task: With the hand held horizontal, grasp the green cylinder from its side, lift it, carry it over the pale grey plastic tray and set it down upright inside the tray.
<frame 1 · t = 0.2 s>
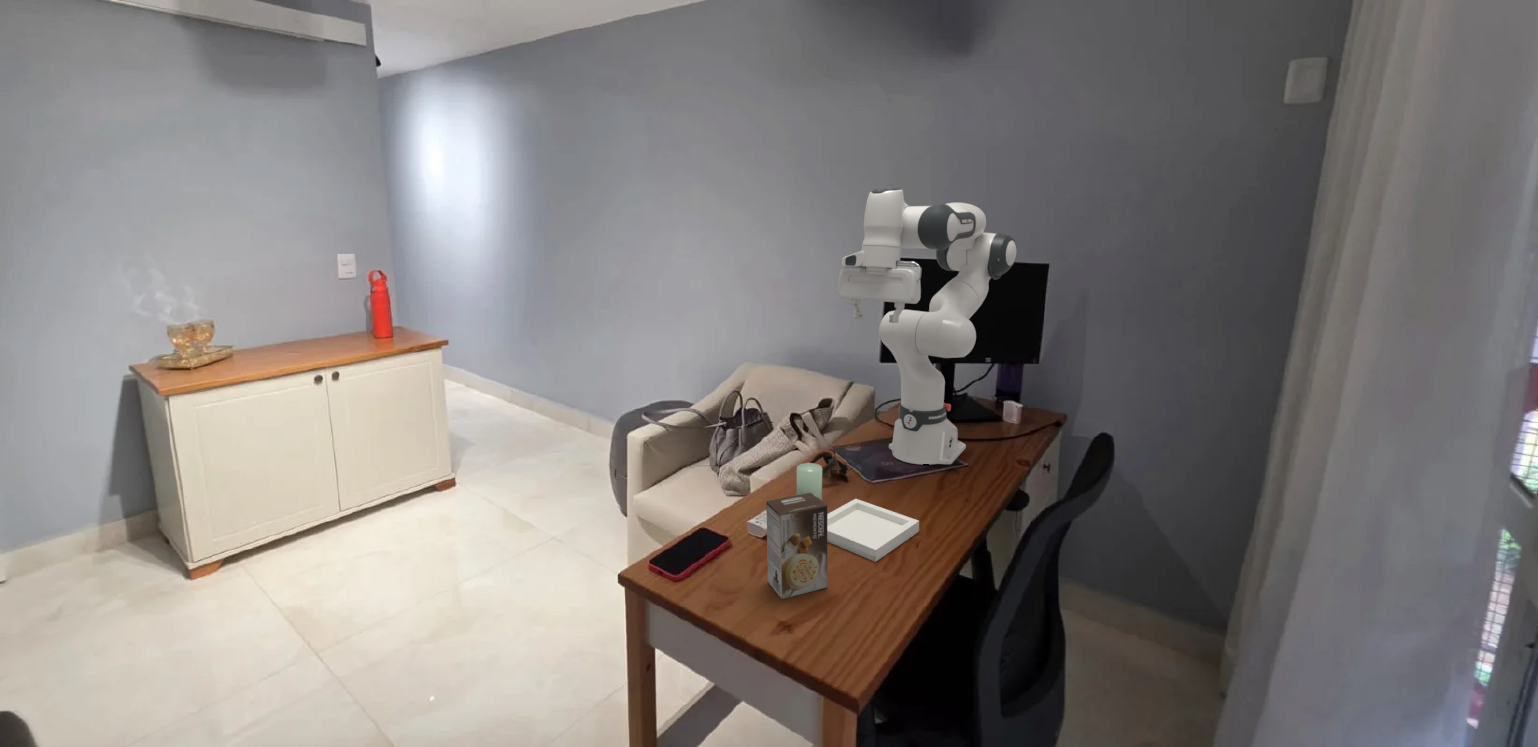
hand: (875, 321, 153), 40 cm above the table, tool pointing down, fingers open, 8 cm apart
green cylinder: (809, 514, 146), on the table
pottery mug: (829, 478, 165), on the table
coffee box: (796, 586, 119), on the table
tray: (864, 533, 137), on the table
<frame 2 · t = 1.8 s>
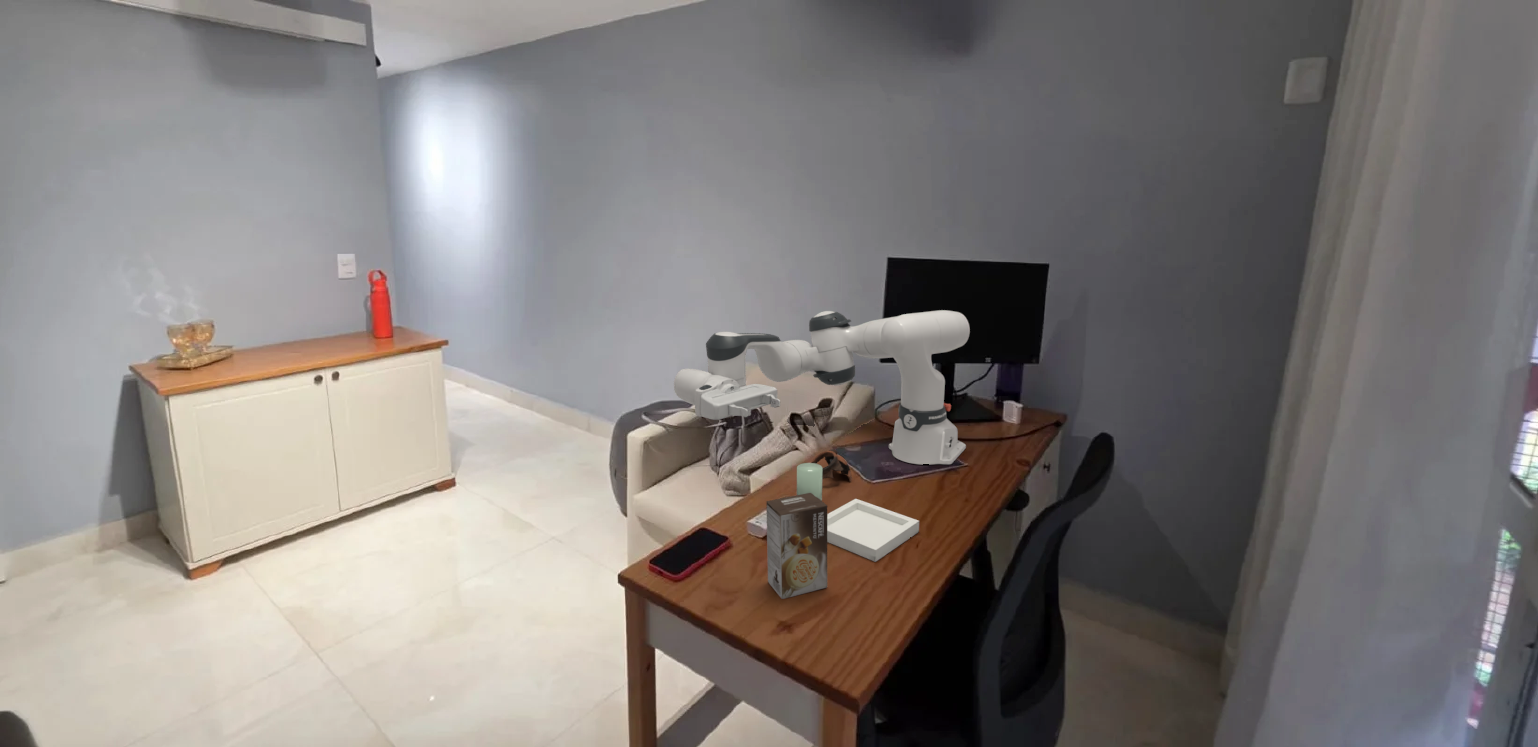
hand: (763, 408, 150), 21 cm above the table, tool horizontal, fingers open, 8 cm apart
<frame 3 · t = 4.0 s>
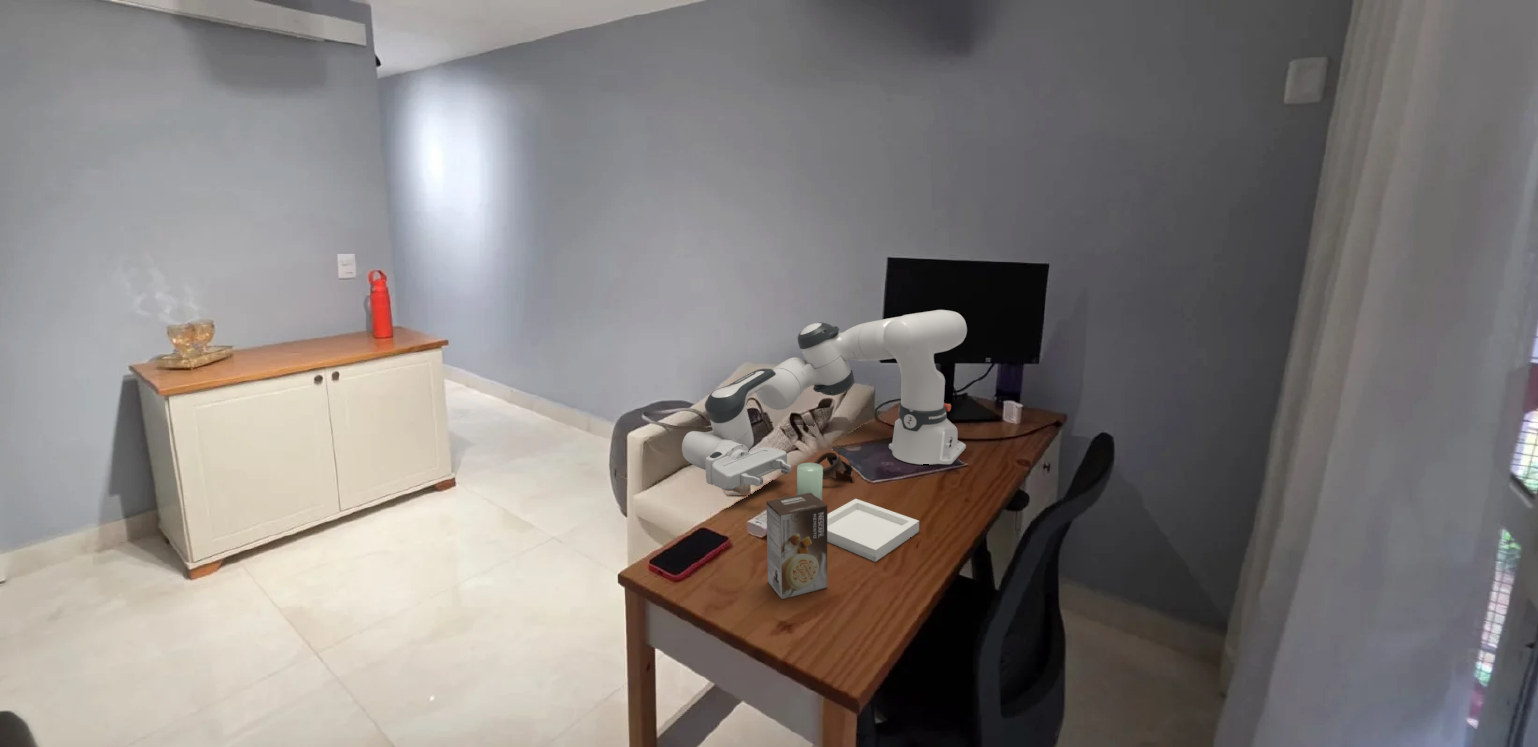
hand: (775, 476, 151), 6 cm above the table, tool horizontal, fingers open, 8 cm apart
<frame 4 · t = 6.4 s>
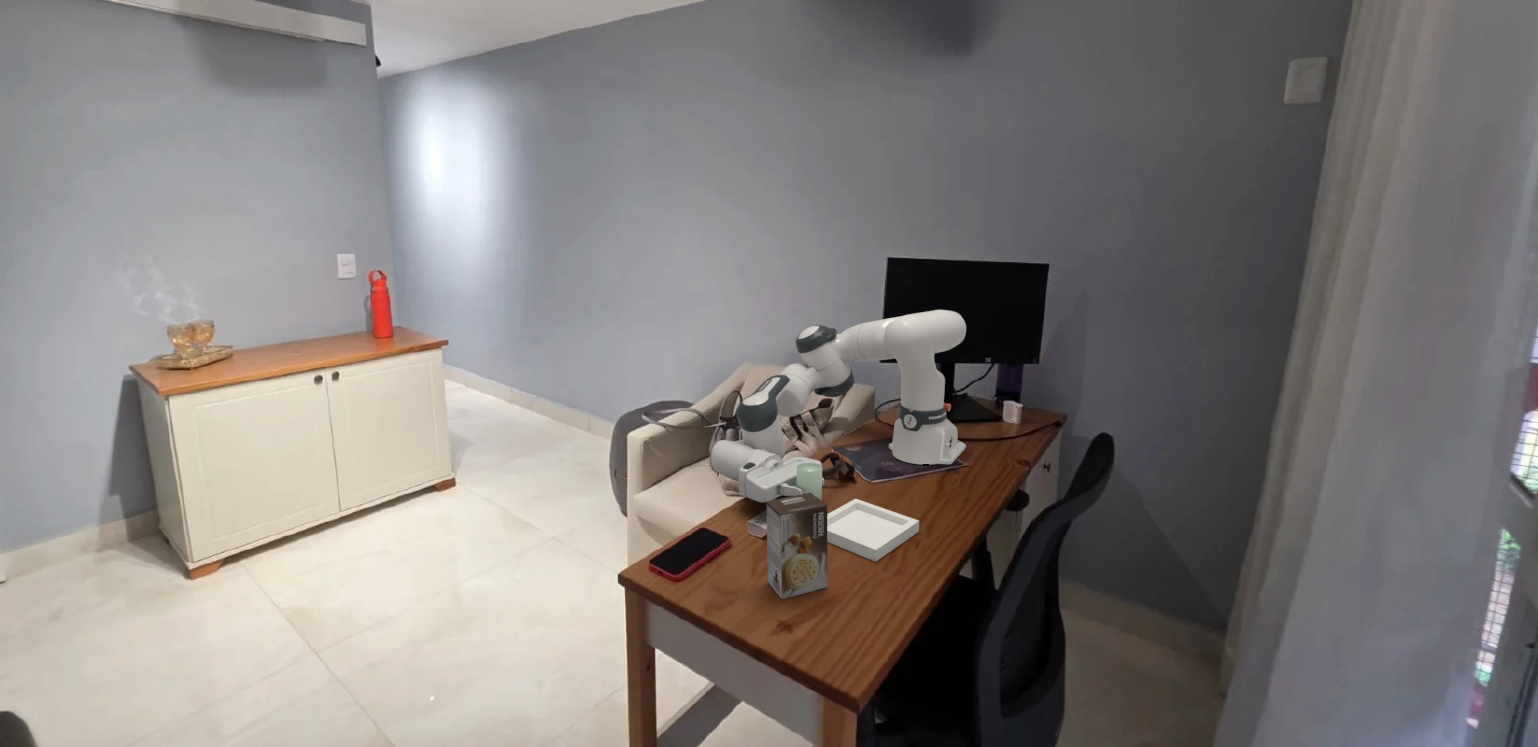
hand: (812, 487, 144), 7 cm above the table, tool horizontal, fingers closed on green cylinder, 5 cm apart
green cylinder: (809, 514, 146), on the table, touching gripper
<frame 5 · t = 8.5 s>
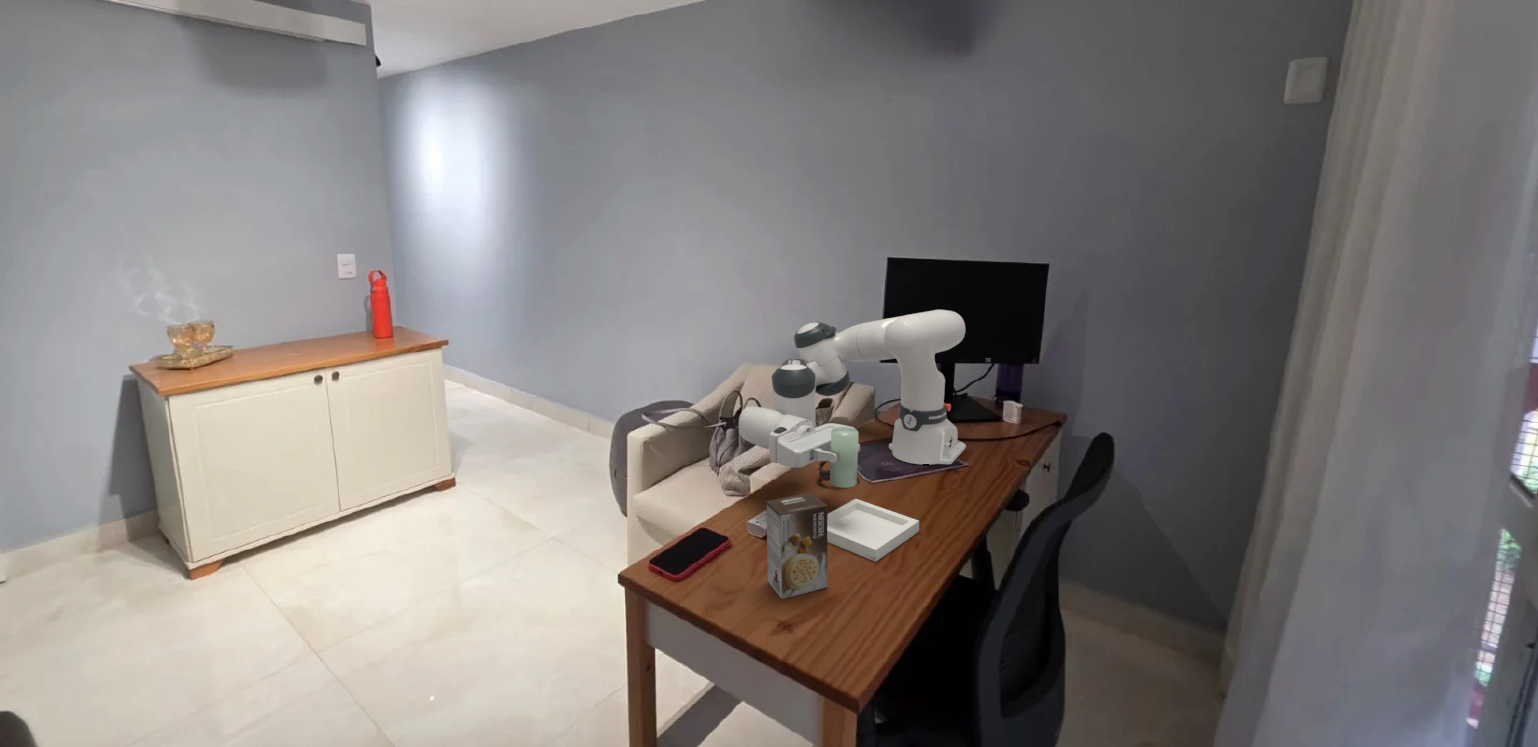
hand: (847, 453, 135), 17 cm above the table, tool horizontal, fingers closed on green cylinder, 5 cm apart
green cylinder: (843, 482, 137), point 10 cm above the table, touching gripper
when the fingers open (9 cm above the table, at t = 10.8 s): green cylinder drops 1 cm, resting on tray.
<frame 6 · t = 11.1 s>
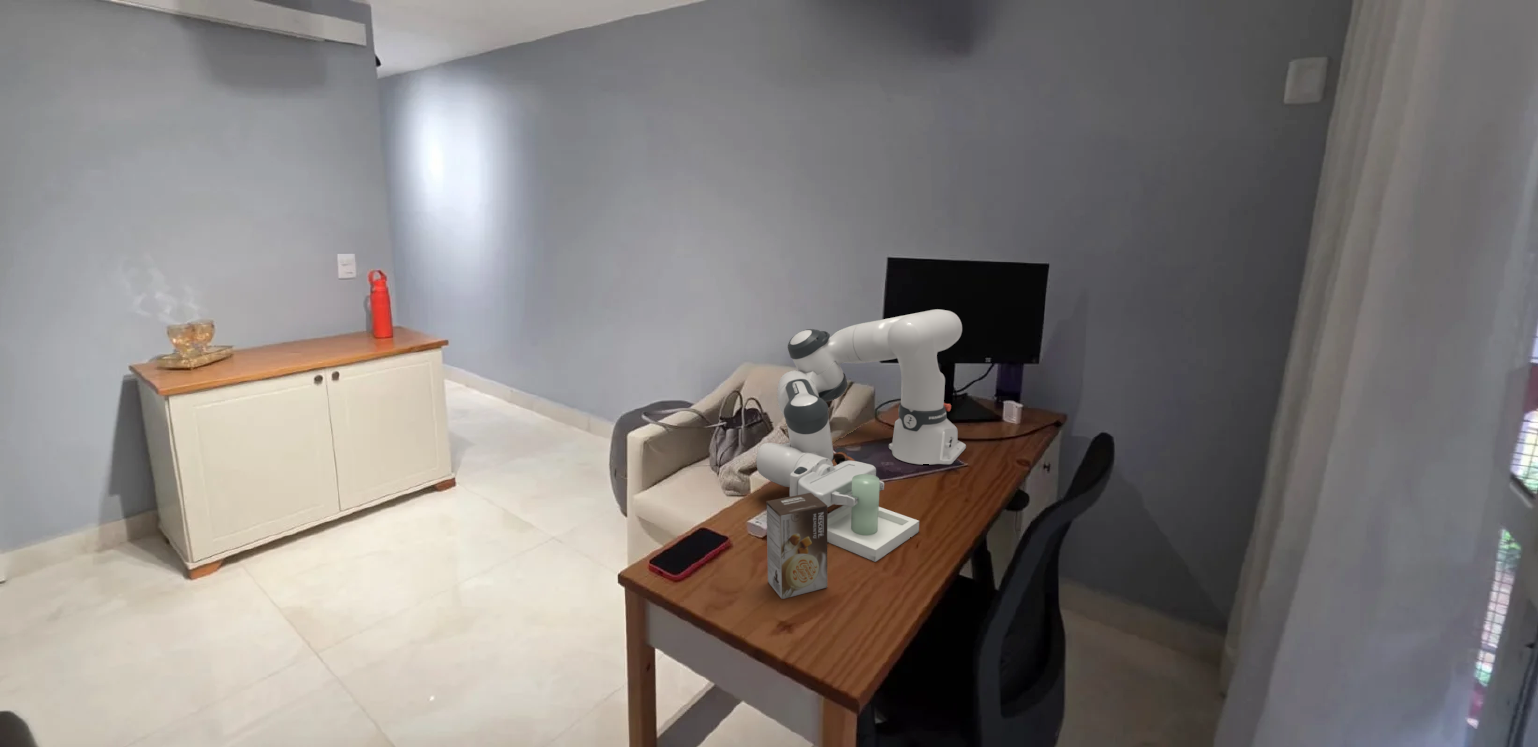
hand: (869, 494, 135), 9 cm above the table, tool horizontal, fingers open, 8 cm apart
green cylinder: (864, 528, 137), point 1 cm above the table, touching tray
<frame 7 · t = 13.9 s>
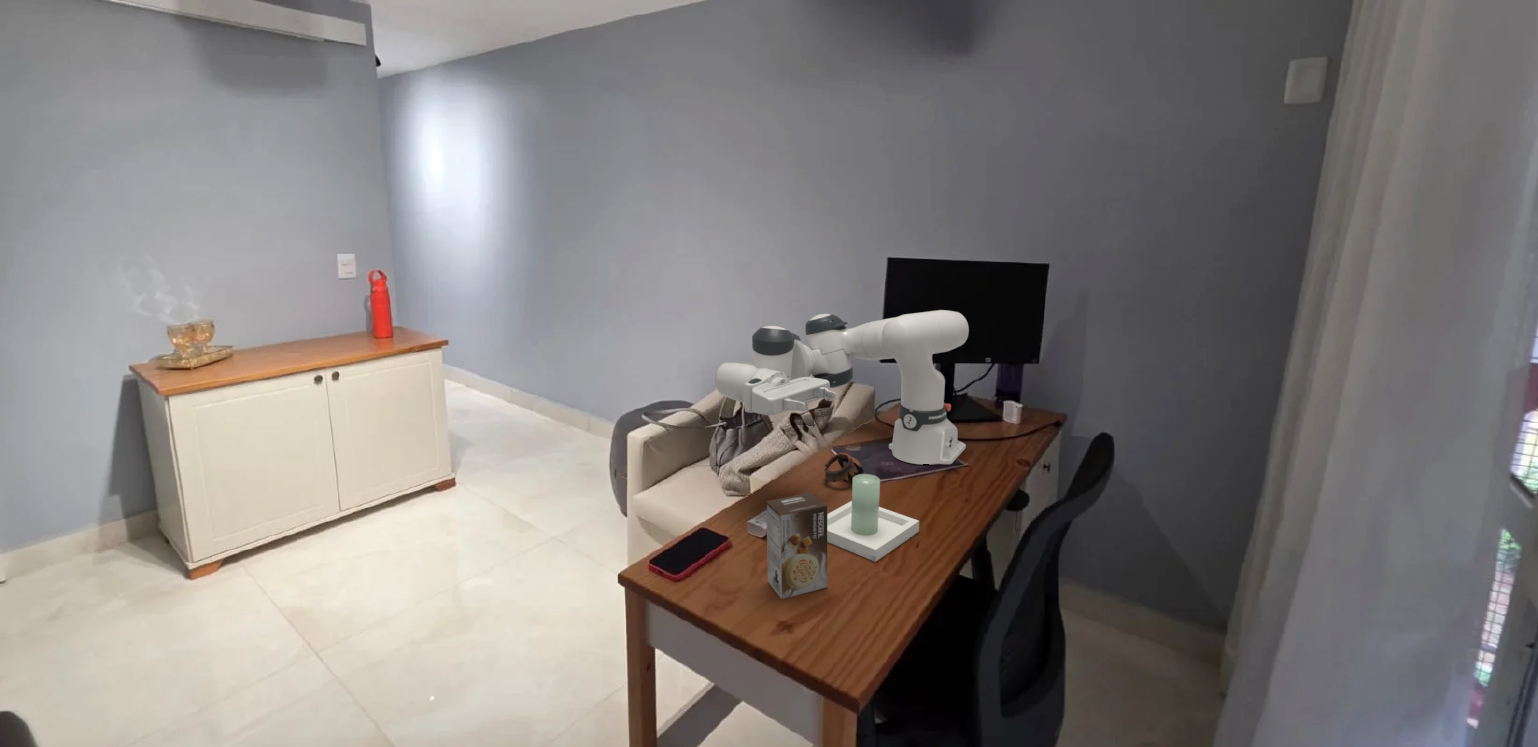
hand: (820, 401, 139), 26 cm above the table, tool horizontal, fingers open, 8 cm apart
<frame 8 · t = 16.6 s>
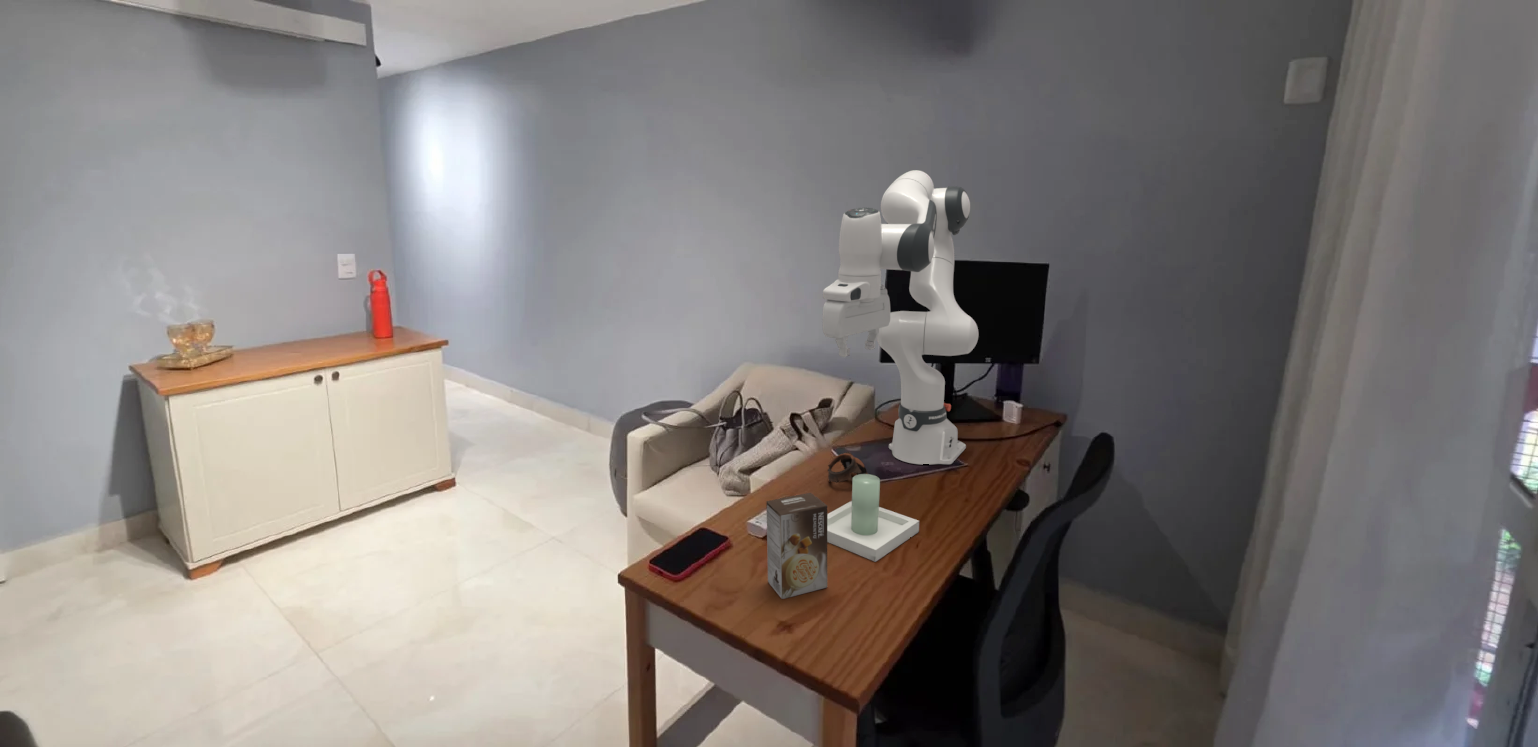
hand: (857, 352, 142), 35 cm above the table, tool pointing down, fingers open, 8 cm apart
at the end: green cylinder inside the target area on the tray (0.0 cm from its centre), point 1.0 cm above the tray's base; green cylinder tilted 0°; the gripper is holding nothing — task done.
